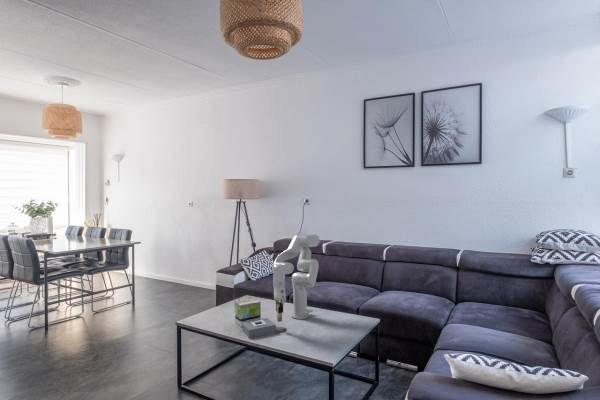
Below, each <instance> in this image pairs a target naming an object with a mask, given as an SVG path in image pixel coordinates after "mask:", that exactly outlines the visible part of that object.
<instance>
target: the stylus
mask: <svg viewBox="0 0 600 400" xmlns="http://www.w3.org/2000/svg"><path fill="white" fill-rule="evenodd" d="M280 304H281V303H280ZM278 307H279V302H277V311H276V314H277V316H276V317H277V322H278V323H280V322H283V313H278Z"/></svg>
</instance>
